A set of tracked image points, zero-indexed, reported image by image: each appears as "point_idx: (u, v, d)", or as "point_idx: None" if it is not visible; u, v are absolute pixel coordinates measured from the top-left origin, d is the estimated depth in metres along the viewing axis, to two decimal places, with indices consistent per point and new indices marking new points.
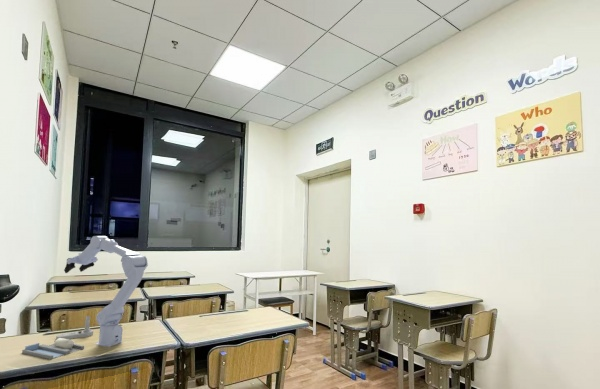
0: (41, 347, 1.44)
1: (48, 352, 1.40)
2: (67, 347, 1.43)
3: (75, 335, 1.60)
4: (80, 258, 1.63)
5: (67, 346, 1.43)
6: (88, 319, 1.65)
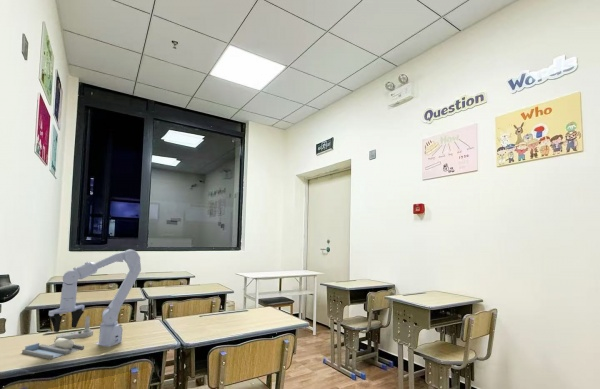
0: (41, 347, 1.44)
1: (48, 352, 1.40)
2: (67, 347, 1.43)
3: (75, 335, 1.60)
4: (62, 306, 1.45)
5: (67, 346, 1.43)
6: (88, 319, 1.65)
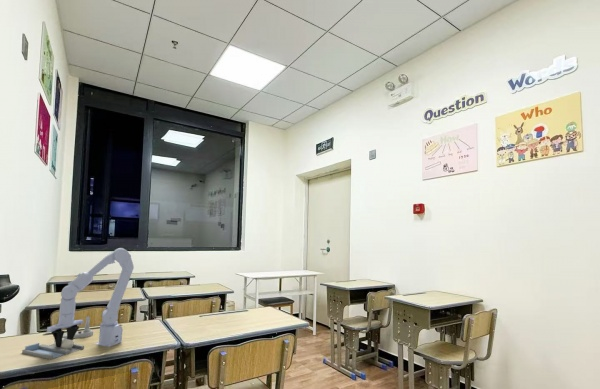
0: (41, 347, 1.44)
1: (48, 352, 1.40)
2: (67, 347, 1.43)
3: (75, 335, 1.60)
4: (60, 321, 1.44)
5: (67, 346, 1.43)
6: (88, 319, 1.65)
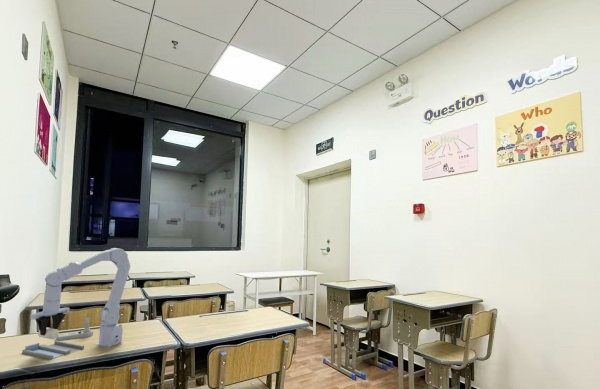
0: (41, 347, 1.44)
1: (48, 352, 1.40)
2: (51, 336, 1.38)
3: (75, 335, 1.60)
4: (45, 309, 1.38)
5: (51, 335, 1.38)
6: (88, 320, 1.65)
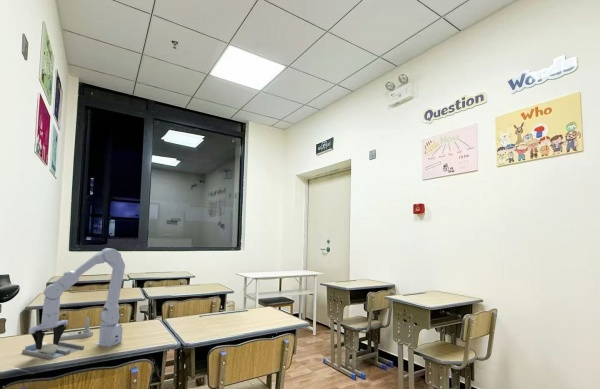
0: None
1: None
2: (50, 352, 1.37)
3: (74, 335, 1.59)
4: (43, 322, 1.38)
5: (50, 350, 1.37)
6: (88, 320, 1.64)
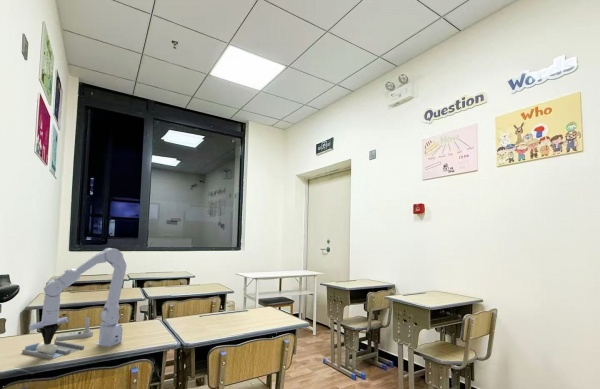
0: None
1: None
2: (49, 352, 1.37)
3: (74, 335, 1.59)
4: (43, 319, 1.38)
5: (49, 351, 1.37)
6: (87, 320, 1.64)
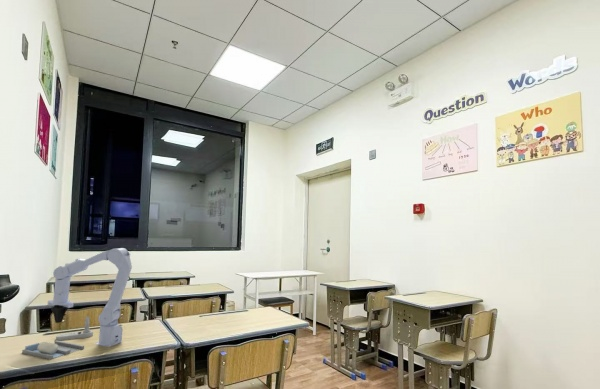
0: None
1: None
2: (50, 351, 1.37)
3: (74, 336, 1.59)
4: None
5: (50, 349, 1.38)
6: (87, 320, 1.64)
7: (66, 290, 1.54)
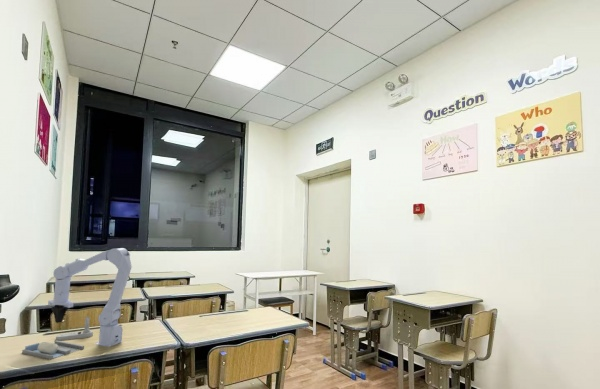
0: None
1: None
2: (50, 351, 1.37)
3: (74, 336, 1.59)
4: None
5: (51, 349, 1.38)
6: (87, 320, 1.64)
7: (66, 290, 1.54)
